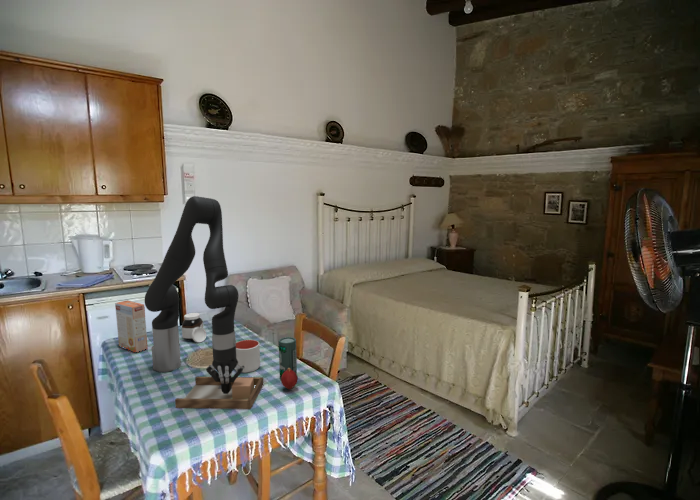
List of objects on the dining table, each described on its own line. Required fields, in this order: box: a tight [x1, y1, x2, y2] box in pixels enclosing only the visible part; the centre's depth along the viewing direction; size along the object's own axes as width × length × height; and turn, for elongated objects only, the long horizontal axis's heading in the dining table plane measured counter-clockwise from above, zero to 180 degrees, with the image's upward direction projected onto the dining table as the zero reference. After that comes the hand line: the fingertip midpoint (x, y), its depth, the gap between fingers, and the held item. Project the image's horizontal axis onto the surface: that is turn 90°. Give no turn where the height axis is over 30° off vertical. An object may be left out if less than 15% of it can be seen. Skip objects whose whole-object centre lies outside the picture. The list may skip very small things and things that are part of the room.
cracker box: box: [114, 299, 149, 353], centre depth 172 cm, size 14×6×21 cm, turn 58°
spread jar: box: [181, 312, 207, 343], centre depth 183 cm, size 12×11×12 cm
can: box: [278, 336, 298, 382], centre depth 143 cm, size 6×6×15 cm
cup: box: [234, 339, 261, 374], centre depth 152 cm, size 10×10×10 cm
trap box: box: [174, 376, 264, 410], centre depth 131 cm, size 24×16×3 cm, turn 88°
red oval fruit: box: [280, 368, 299, 391], centre depth 136 cm, size 6×6×8 cm
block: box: [232, 378, 254, 399], centre depth 132 cm, size 6×6×4 cm
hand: (226, 392), depth 131 cm, fingers closed
